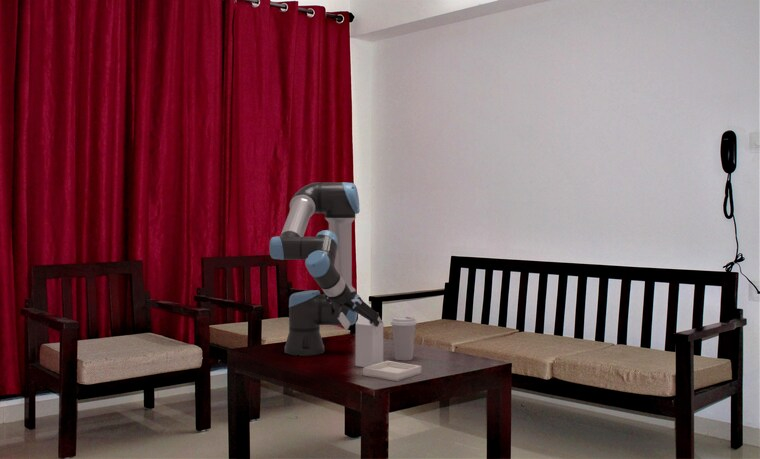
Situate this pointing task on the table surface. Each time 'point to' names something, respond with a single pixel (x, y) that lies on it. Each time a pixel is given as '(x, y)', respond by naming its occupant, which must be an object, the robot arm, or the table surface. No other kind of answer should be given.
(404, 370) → the ceramic tray
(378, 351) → the milk carton
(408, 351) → the coffee cup
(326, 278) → the robot arm
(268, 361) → the table surface
